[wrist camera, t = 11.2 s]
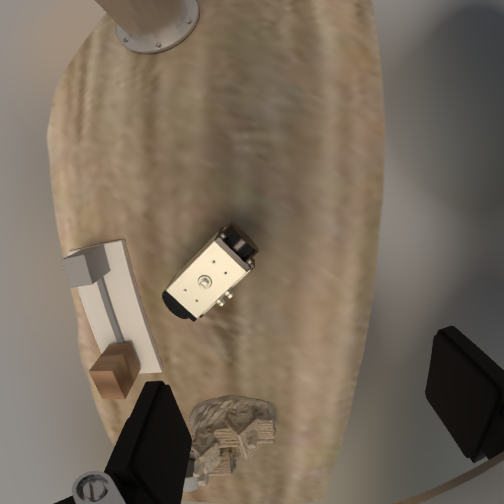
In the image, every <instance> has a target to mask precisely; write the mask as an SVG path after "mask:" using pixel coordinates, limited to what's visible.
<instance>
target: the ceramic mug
mask: <svg viewBox="0 0 504 504" xmlns="http://www.w3.org/2000/svg"><path fill="white" fill-rule="evenodd" d="M195 460H196V458H195V454H194V452H192V451H190V456H189V462H188V467H187V472H186V477H185V483H184V488H183V492H191V491H194V490H196V489H197V488H198V487H199V486H200V485H198V483H197V477H194V476H193V472H194V462H195Z"/></svg>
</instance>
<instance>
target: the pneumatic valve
mask: <svg viewBox="0 0 504 504" xmlns="http://www.w3.org/2000/svg"><path fill="white" fill-rule="evenodd" d="M258 252H259V250H258V248H257V246H256V245H255V243H254V242H253V241H252V240H251V239H250V238H249V236H248V235H247V234H246V233H245V232H244V231H243V230H241V229H240V228H239V227H238V226H237V225H235V224H233V223H231V224H230V225H229V226H228V227H227V228H226V227H225V228H224V227H222V228H221V229H220V230H219V231H218V232H217V233H216V234H215V235H214V236H213V237H212V238H211V239H210V240H209V241H208V242H207V243H206V244H205V245H204V246H203V247H202V248H201V249H200V251H199V252H198V253H197V254H196V255H195V256H194V257H193V258H192V259H191V260H190V261H189V262H188V263H187V264H186V265H185V266H184V267H183V268H182V269H181V270H180V271H179V272H178V273H177V274H176V275H175V276H174V278H173V279H172V281H171V282H170V283H169V285H168V286H167V288H166V289H165V290H164V292H163V293H162V298H163V301H164V303H165V305H166V306H167V308H168V309H169V310H170V311H171V312H172V313H173V314H175V315H176V316H178V317H179V318H182V319H188V318H190V319H191V320H192V321H193V322H194V321H195V320H196V319H198V318H199V317H200V318H201V317H202V316H203V315H204V314H205V313H206V312H207V311H208V310H209V309H211V308H212V307H213V306H214V305H215V304H216V303H217V304H218V303H219V304H218V305H219V306H223V305H224V303H225V301H224V300H222V297H223V296H224V295H226V296H227V295H228V296H227V297H228V298H229V299H230V298H231V297H232V296H233V295H234V293H233V292H231V289H232V288H233V287H234V286H235V285H236V284H237V283H238V282H239V281H241V280H242V279H243V278H244V277H245V276H246V275H247V274H248V273H249V272H250V271H251V270H252V269H253V268H254V267H255V260H254V259H253V257H254V256H255V255H256V254H257V253H258ZM221 300H222V301H221Z"/></svg>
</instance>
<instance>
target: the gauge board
mask: <svg viewBox="0 0 504 504" xmlns="http://www.w3.org/2000/svg"><path fill="white" fill-rule="evenodd" d="M67 253H68V257H66V258H64V259H62V260H61V261H62V264H63V267H64V271H65V275H66V278H67V281H68V284H69V288H74V287H77V288H78V291H79V294H80V297H81V300H82V303H83V306H84V309H85V312H86V315H87V317H88V320H89V323H90V326H91V328H92V331H93V334H94V336H95V339H96V341H97V344H98V346H99V349H100V351H101V354H102V353H103V352H104V351H105V349H106V348H107V347H108V345H109V344H116V343H130V342H131V344H132V347H133V350H134V352H135V355H136V357H137V360H138V363H139V365H140V368H141V369H140V371H139V373H157V372H162V371H163V365H162V363H161V360H160V357H159V354H158V351H157V349H156V346H155V343H154V340H153V337H152V334H151V331H150V328H149V325H148V322H147V319H146V315H145V312H144V309H143V306H142V302H141V299H140V296H139V292H138V289H137V285H136V282H135V278H134V275H133V271H132V267H131V263H130V259H129V256H128V252H127V247H126V243H125V239H122V240H117V241H112V242H108V243H103V244H99V245H94V246H89V247H85V248H80V249H76V250H72V251H69V252H67Z"/></svg>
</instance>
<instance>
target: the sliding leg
mask: <svg viewBox="0 0 504 504" xmlns="http://www.w3.org/2000/svg"><path fill="white" fill-rule="evenodd" d="M140 369H141V368H140V365H139V363H138V360H137V357H136V355H135V352H134V350H133V347H132V344H131V342H130V343H116V344H109V345H108V347H107V348H106V349H105V351H104V352H103V353H102V355H101V356H100V357H99V359H98V360H97V361H96V363H95V364H94V365H93V367H92V368H91V369H90V371H89V372H90V375H91V377H92V379H93V381H94V383H95V385H96V387H97V389H98V391H99V393H100V395H101V397H102V399H126V397H127V395H128V393H129V391H130V389H131V387H132V385H133V383H134V381H135V379H136V377H137V375H138V373H139V371H140Z"/></svg>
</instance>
